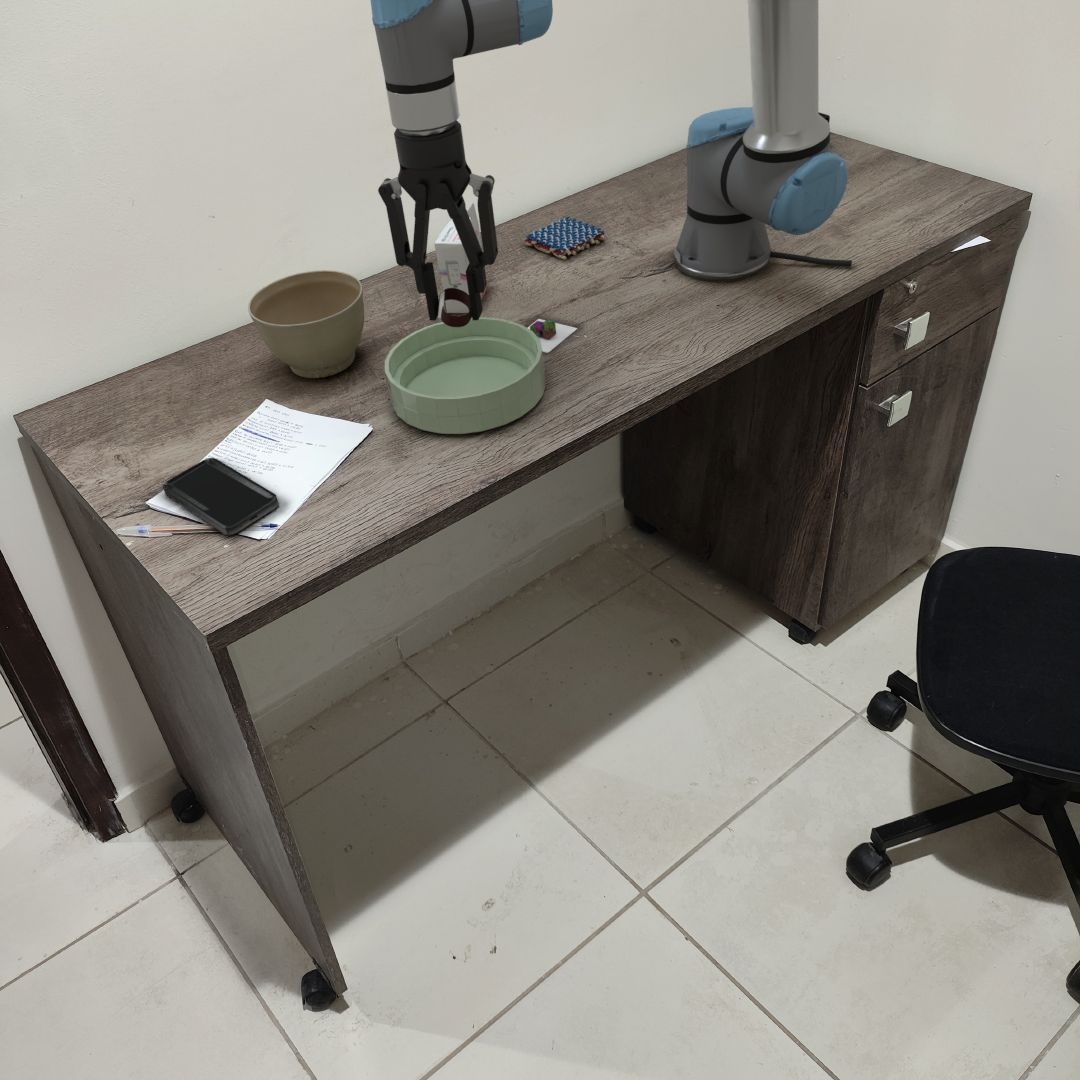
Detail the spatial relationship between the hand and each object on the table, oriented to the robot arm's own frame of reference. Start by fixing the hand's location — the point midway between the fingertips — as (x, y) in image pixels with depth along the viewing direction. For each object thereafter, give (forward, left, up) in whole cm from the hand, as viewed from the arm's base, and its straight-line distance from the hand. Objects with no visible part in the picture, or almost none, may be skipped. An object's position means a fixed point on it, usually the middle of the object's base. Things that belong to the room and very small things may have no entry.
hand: (456, 314), depth 123 cm
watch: (0, 0, -1) cm, 1 cm away
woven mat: (-6, -51, -14) cm, 54 cm away
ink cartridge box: (+7, -30, -14) cm, 34 cm away
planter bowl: (+25, -11, -14) cm, 31 cm away
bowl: (+1, -3, -14) cm, 14 cm away
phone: (+27, +21, -14) cm, 37 cm away
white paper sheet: (-7, -19, -14) cm, 25 cm away
